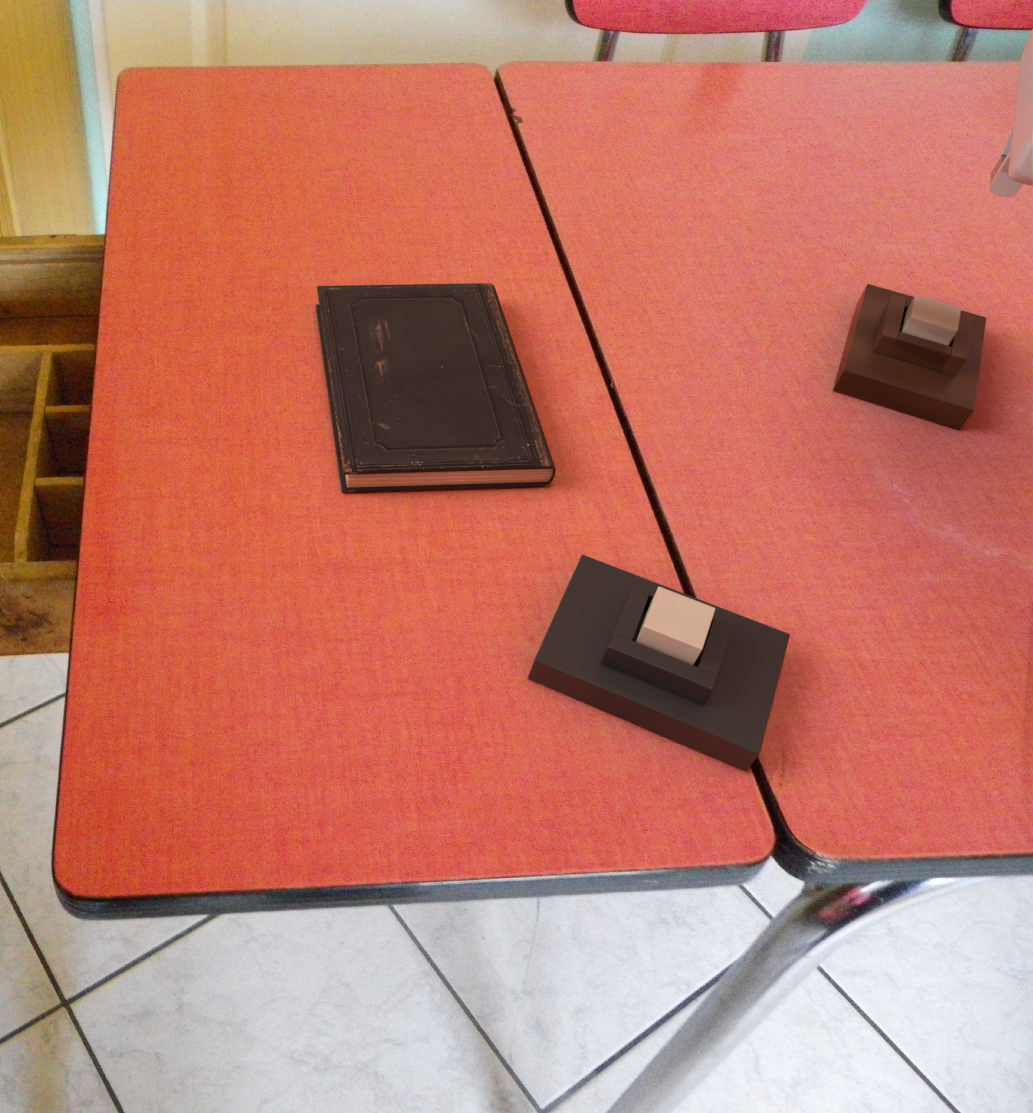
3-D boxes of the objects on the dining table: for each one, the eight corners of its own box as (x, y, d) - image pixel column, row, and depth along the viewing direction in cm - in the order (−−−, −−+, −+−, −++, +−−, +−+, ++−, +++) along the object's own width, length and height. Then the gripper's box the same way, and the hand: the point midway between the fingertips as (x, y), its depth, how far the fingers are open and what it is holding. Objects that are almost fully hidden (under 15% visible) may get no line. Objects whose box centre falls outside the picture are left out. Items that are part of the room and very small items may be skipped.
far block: (856, 303, 94) (876, 266, 91) (973, 337, 91) (998, 299, 88) (832, 390, 85) (853, 352, 82) (959, 430, 83) (987, 393, 80)
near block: (777, 653, 68) (801, 617, 65) (746, 772, 62) (771, 738, 59) (574, 574, 72) (588, 536, 69) (527, 678, 66) (540, 642, 63)
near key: (706, 624, 65) (715, 607, 63) (692, 666, 62) (702, 649, 61) (650, 602, 66) (658, 585, 64) (635, 642, 64) (643, 626, 62)
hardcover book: (341, 493, 76) (344, 471, 74) (315, 307, 91) (317, 285, 89) (551, 487, 77) (558, 465, 75) (492, 304, 92) (496, 282, 90)
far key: (905, 311, 87) (915, 294, 86) (950, 324, 86) (961, 307, 85) (900, 334, 85) (911, 317, 83) (946, 347, 84) (958, 330, 82)
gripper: (1194, 59, 56) (1044, 272, 67) (1176, -60, 68) (1051, 137, 79) (1070, 33, 58) (942, 244, 69) (1073, -80, 70) (964, 116, 81)
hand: (1000, 186), depth 74 cm, fingers closed
